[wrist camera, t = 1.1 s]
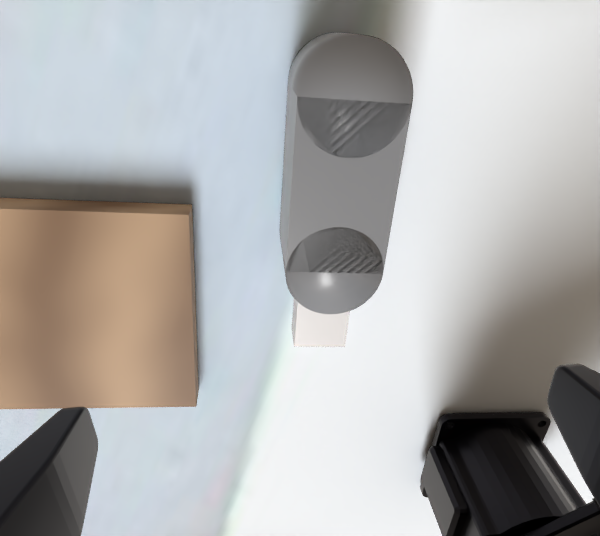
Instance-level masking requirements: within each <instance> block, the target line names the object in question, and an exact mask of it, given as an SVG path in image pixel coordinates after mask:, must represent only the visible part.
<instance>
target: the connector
mask: <svg viewBox="0 0 600 536" xmlns="http://www.w3.org/2000/svg"><path fill="white" fill-rule="evenodd" d="M412 101H413V84H412V78H411V75H410V71H409V69H408V67H407V64H406V63H405V61H404V59H403V58H402V56H401V55H400V54H399V53H398V51H396V50H395V49H394V48H393V47H392V46H391V45H389V44H388V43H386V42H385V41H383V40H381V39H379V38H375V37H372V36H367V35H359V34H350V33H340V32H333V33H327V34H323V35H320V36H318V37H316V38H314V39H312V40H311V41H309V42H308V43H307V44H306V45H305V46H304V47H303V48H302V49H301V50H300V51H299V53H298V54H297V55H296V57H295V59H294V61H293V63H292V65H291V68H290V72H289V76H288V88H287V106H286V124H285V142H284V160H283V178H282V196H281V213H280V240H281V247H282V254H283V261H284V268H285V275H286V282H287V286H288V289H289V291H290V293H291V294H292V296H293V297H294V304H293V317H292V334H293V341H294V347H345V341H346V334H347V327H348V320H349V313H350V311H351V310H353V309H355V308H357V307H359V306H361V305H362V304H364V303H365V302H366V301H367V300H368V299H369V298H370V297H371V296H372V295H373V294H374V293H375V291H376V290H377V288H378V286H379V284H380V282H381V279H382V275H383V270H384V264H385V259H386V253H387V247H388V241H389V235H390V230H391V224H392V218H393V212H394V206H395V201H396V195H397V189H398V183H399V177H400V171H401V166H402V160H403V154H404V148H405V142H406V137H407V131H408V125H409V119H410V113H411V108H412Z"/></svg>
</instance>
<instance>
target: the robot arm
mask: <svg viewBox="0 0 600 536" xmlns="http://www.w3.org/2000/svg"><path fill="white" fill-rule="evenodd" d="M547 401H548V406H549V409H550V412H551V414H552V416H553V418H554V420H555V422H556V424H557V426H558V428H559V430H560V432H561V434H562V436H563V438H564V441H565V443H566V445H567V447H568V449H569V451H570V453H571V455H572V457H573V459H574V461H575V463H576V465H577V467H578V469H579V471H580V473H581V475H582V477H583V479H584V481H585V483H586V484H587V486H588V488H589V489H590V491H591V493H592V495H593V496H594V498H593V499H592V500H593V501H592V502H590V503H588V504H586V503H585V501H584V500H583V498H582V497H581V496H580V494H579V493H578V491H577V490H576V488H575V487H574V486H573V484H572V483H571V481H570V480H569V478H568V477H567V476H566V474H565V473H564V471H563V470H562V468H561V467H560V466H559V464H558V463H557V461H556V460H555V458H554V457H553V456H552V454H551V453H550V451H549V450H548V448H547V447H546V445H545V444H544V443H543V439H544V437H545V435H546V432H547V430H548V428H549V425H550V422H551V421H550V419H549V418H548V416H547V415H546V414H545V413H542V412H527V413H466V414H445V415H443V416H442V417H441V418H440V419H439V421H438V425H437V428H436V432H435V436H434V439H433V443H432V446H431V447H430V449H429V450H428V454H427V457H426V461H425V465H424V468H423V472H422V475H421V480H422V482H421V486H420V489H421V492H422V494H423V496H425V497H428V498H429V501H430V504H431V506H432V509H433V512H434V514H435V517H436V520H437V522H438V525H439V528H440V530H441V533H442V536H600V373H598V372H596V371H594V370H592V369H590V368H588V367H586V366H584V365H581V364H568V365H560V366H558V367H557V368H556V369H555V372H554V375H553V379H552V382H551V386H550V389H549V393H548V400H547ZM97 451H98V439H97V435H96V432H95V429H94V426H93V423H92V419H91V416H90V413H89V411H88V409H87V408H86V407H82V406H81V407H70V408H63V409H61V410H60V411H58V412H57V413H56V414H55V415H54V416H52V417H51V418H50V419H49V420H48V421H47V422H46V423H44V424H43V425H42V426H41V427H40V428H39V429H37V430H36V431H35V432H34V433H33V434H32V435H30V436H29V437H28V438H27V439H26V440H25V441H23V442H22V443H21V444H20V445H19V446H18V447H17V448H15V449H14V450H13V451H12V452H11V453H10V454H8V455H7V456H6V457H5V458H4V459H3V460H1V461H0V536H81V532H82V528H83V523H84V518H85V513H86V508H87V503H88V498H89V493H90V488H91V482H92V477H93V472H94V467H95V462H96V457H97Z"/></svg>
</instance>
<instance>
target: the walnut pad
mask: <svg viewBox="0 0 600 536" xmlns="http://www.w3.org/2000/svg"><path fill="white" fill-rule="evenodd" d="M198 390H199V387H198V358H197V330H196V301H195V272H194V244H193V215H192V205H191V204H162V203H134V202H106V201H77V200H49V199H21V198H0V409H48V408H70V407H81V406H82V407H86V408H122V407H196V405H197V397H198Z"/></svg>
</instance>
